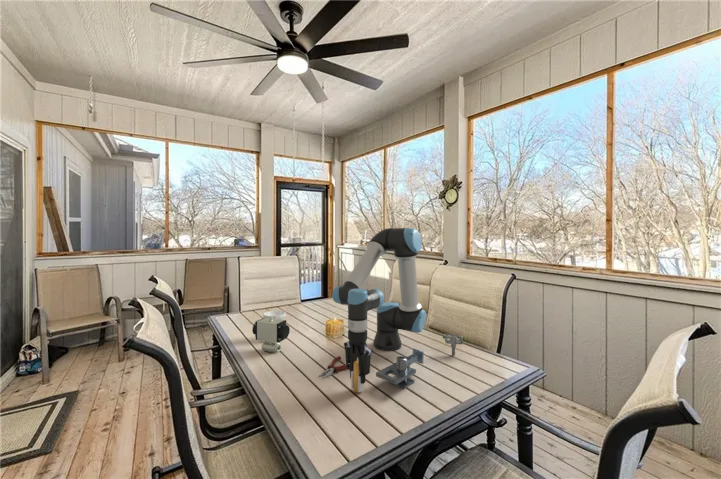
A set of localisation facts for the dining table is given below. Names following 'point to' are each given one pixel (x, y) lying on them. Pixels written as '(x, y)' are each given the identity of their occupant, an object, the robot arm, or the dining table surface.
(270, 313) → the cup
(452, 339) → the mechanical component
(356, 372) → the orange rounded rod
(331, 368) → the pliers
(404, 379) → the grey toggle clamp
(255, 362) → the dining table surface
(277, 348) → the ball valve
